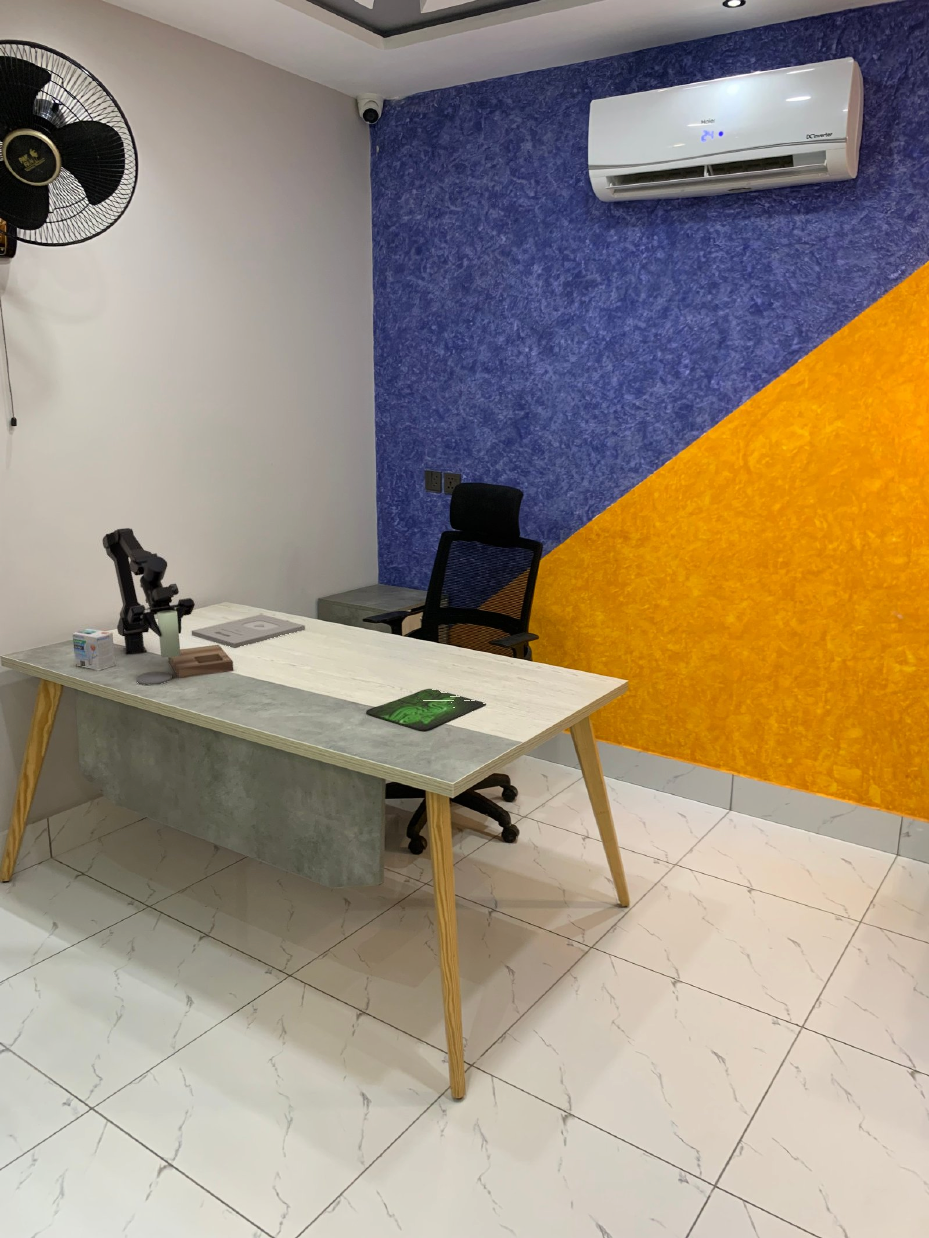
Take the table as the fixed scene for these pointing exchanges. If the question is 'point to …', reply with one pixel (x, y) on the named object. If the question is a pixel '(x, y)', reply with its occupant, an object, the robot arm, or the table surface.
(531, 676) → the table surface
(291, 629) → the award plaque
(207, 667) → the puzzle board
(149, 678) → the coaster
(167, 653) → the peg
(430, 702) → the mouse mat
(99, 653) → the light bulb box
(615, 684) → the table surface
